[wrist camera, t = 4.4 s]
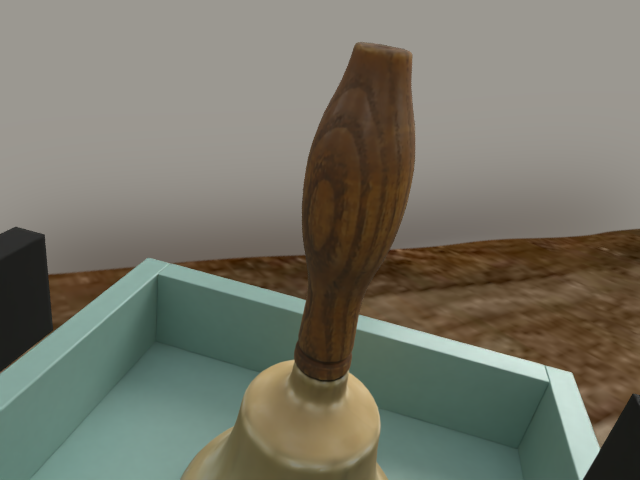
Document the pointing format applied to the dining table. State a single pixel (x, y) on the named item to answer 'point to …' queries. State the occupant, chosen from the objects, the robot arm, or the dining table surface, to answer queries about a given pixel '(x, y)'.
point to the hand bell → (331, 289)
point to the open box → (241, 369)
